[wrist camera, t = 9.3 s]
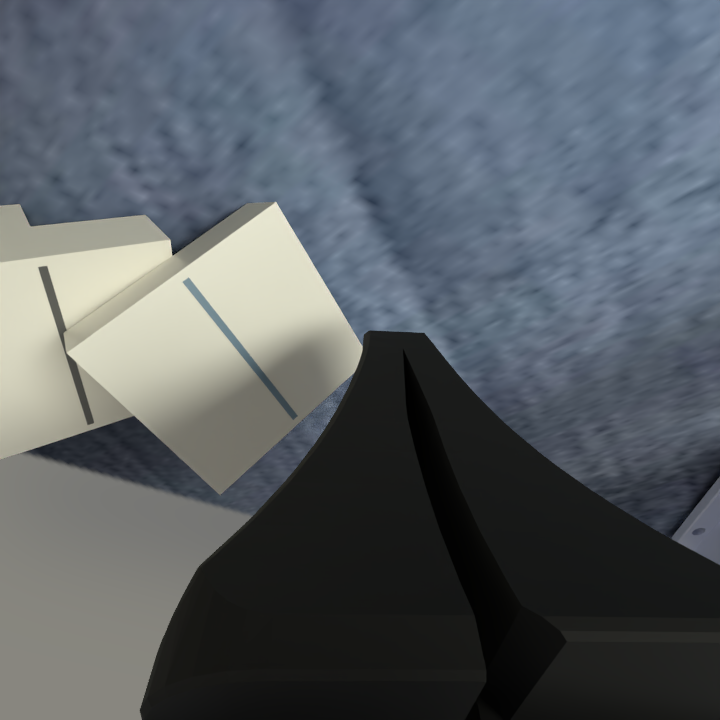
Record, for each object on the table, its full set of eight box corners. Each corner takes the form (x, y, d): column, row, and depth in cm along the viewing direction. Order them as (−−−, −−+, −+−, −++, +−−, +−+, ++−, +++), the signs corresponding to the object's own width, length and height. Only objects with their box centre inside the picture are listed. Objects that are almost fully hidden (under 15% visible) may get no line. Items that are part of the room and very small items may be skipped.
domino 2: (369, 358, 13) (220, 495, 11) (336, 343, 14) (200, 462, 13) (275, 202, 10) (66, 353, 9) (247, 203, 12) (63, 332, 10)
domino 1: (190, 397, 13) (-33, 470, 11) (169, 365, 15) (-39, 423, 12) (170, 239, 11) (-139, 281, 8) (145, 214, 12) (-134, 243, 9)
